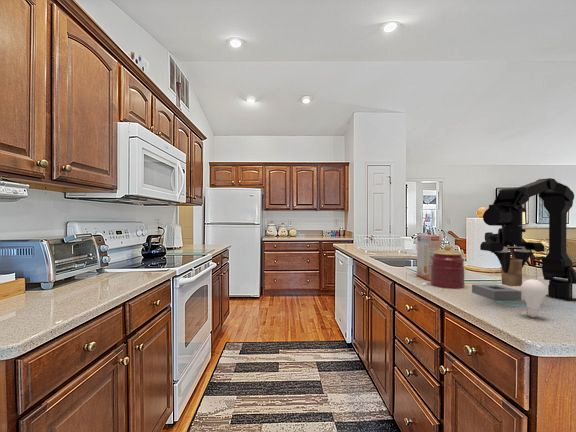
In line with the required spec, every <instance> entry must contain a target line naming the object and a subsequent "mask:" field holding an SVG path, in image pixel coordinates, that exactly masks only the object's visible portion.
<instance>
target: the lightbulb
mask: <svg viewBox="0 0 576 432" xmlns="http://www.w3.org/2000/svg"><path fill="white" fill-rule="evenodd" d="M547 290H548V289H547V287H546V285H545V284H544V283H543V282H541V281H540V280H537V279H534V278H533V279H532V278H531V279H526V280H524V281H522V285H521V286H520V290H519V291H521V296H523V298H524V300H525V305H526V306H527V307H526V308H527V315H528V316H530V317H531V318H536V317H539V313H540V312H539V311H540V309H541V303H542V301H543V300H544V298H546V297H547V296H546V295H547V293H548V291H547Z"/></svg>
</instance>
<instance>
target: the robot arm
mask: <svg viewBox="0 0 576 432" xmlns="http://www.w3.org/2000/svg"><path fill="white" fill-rule="evenodd" d="M536 195H538V196H537V197H539V198H540V200H542V201H543V202H542V203H543V204H542V205H543V207H544V209H545V210H546V211H547V213H548V252H547V254H546V256H545V257H544V256H543V257H542V258H541V271H542V276H543V280H544V281H548V285H547V288H548V289H547V290H548V291H547V293H548V294H546V296H545V297H550V298H554V299H558V300H561V301H576V298H575V297H573V285H576V270H575V269H574V267H573V261H572V260H571V258H570V257H569V256H568V254H567V213H568V212H569V211H570V210H571V208H572V207H573V205H574V199H575V194H574V192H573V190H571V188H570V187H569V186H567V185H565V184H564V183H560V182H558V181H557V180H556V179H555V178H542V179H541V178H539V179H537V180H535V181H533V182H529V183H527V184H525V185H522V186H519V187H508V188H506V187H505V188H501V189H500V190H499V192H498V194H497V195H496V197H495V199H494V201H493V203H492V204H489V205H488V208H486V209H485V211H484V212H483V215H482V220H483V222H484V224H486V225H487V226H496V227H497V226H499V227H500V228H498V230H497V231H498V232H497V233H494V232H492V231H491V232H485V233H484V241H482V242H481V243H480V246H479V247H480V250H481V251H485V252H490V253H493V254H494V255H495V256H496V257H497V260H498V261H499V263H500V266H502V269H503V271H504V273H507V272H508V268H509V262H510V258H511V255H512V254H513V255H514V259H521V260H522V269H523V268H524V266H525V265H526V263H527V261H528V260H529V259H530V257H531V256H532V255H535V254H534V253H535V252H538V253H539V252H545V246H544V244H543V243H542V242H536V241H535V242H534V241H523V233H526V231H527V229H526V228H523V213H526V212H527V209H526V208H525V207H524V206H522V205H525V204H526V203H528V202H529V200H530V198H531V197H533V196H536ZM508 250H512V252H509V251H508ZM532 251H535V252H532Z"/></svg>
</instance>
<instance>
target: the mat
mask: <svg viewBox="0 0 576 432" xmlns="http://www.w3.org/2000/svg"><path fill="white" fill-rule="evenodd" d="M493 303H498V304H500V305H503V306H506V307H510V308H523V307H524V308H525V307H526V308H527V306H526V303H525V304H524V303H521V302H518V301H516V300H493Z"/></svg>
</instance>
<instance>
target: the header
mask: <svg viewBox="0 0 576 432" xmlns="http://www.w3.org/2000/svg"><path fill="white" fill-rule="evenodd" d="M471 293H472V294H475V295H478V296H480V297H481V296H482V297H485V298H487V299H489V300H493V301H521V300H522V293H521V290H518V289H514V288H511V287H508V286H504V285H502V284H495V283H494V284H493V283H492V284H489V283H488V284H487V283H485V284H481V283H480V284H479V283H478V284H477V283H476V284H475V283H473V284H471Z"/></svg>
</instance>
